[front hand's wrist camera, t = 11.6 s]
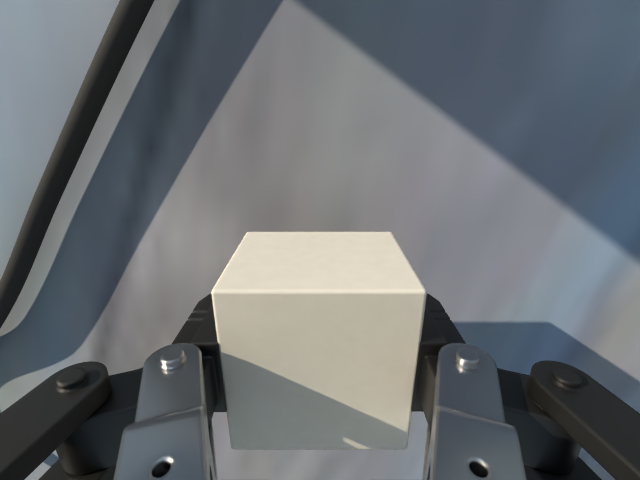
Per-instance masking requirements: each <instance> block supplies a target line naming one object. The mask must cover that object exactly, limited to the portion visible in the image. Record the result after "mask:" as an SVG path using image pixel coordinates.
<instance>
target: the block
mask: <svg viewBox="0 0 640 480" xmlns="http://www.w3.org/2000/svg"><path fill="white" fill-rule="evenodd" d="M211 294H212V302H213V309H214V317H215V325H216V333H217V340H218V346H219V354H220V362H221V369H222V377H223V385H224V393H225V400H226V408H227V418H228V425H229V433H230V441H231V448H232V449H406V448H407V445H408V437H409V429H410V421H411V413H412V411H411V407H412V400H413V392H414V384H415V376H416V368H417V360H418V352H419V344H420V342H421V335H422V327H423V319H424V312H425V304H426V296H427V291H426V289H425V287H424V286H423V284H422V282H421V281H420V279H419V277H418V276H417V274H416V272H415V271H414V269H413V267H412V266H411V264H410V262H409V261H408V259H407V257H406V256H405V254H404V252H403V251H402V249H401V247H400V245H399V244H398V242H397V240H396V239H395V237H394V235H393V234H392V233H391V232H247V233H246V235H245V236H244V238H243V240H242V241H241V243H240V245H239V246H238V248H237V250H236V251H235V253H234V255H233V256H232V258H231V260H230V261H229V263H228V265H227V266H226V268H225V270H224V271H223V273H222V275H221V276H220V278H219V279H218V281H217V283H216V284H215V286H214V288H213V289H212V292H211Z"/></svg>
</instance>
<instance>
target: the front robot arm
mask: <svg viewBox="0 0 640 480" xmlns="http://www.w3.org/2000/svg"><path fill="white" fill-rule="evenodd" d="M153 2H154V0H120V2H119V4H118V6H117V8H116V10H115V12H114V14H113V17H112V19H111V21H110V23H109V25H108V28H107V30H106V32H105V34H104V36H103V39H102V41H101V43H100V45H99V47H98V50H97V52H96V54H95V56H94V59H93V61H92V63H91V65H90V68H89V70H88V72H87V74H86V77H85V79H84V81H83V83H82V86H81V88H80V90H79V93H78V95H77V97H76V99H75V102H74V104H73V106H72V109H71V111H70V113H69V116H68V118H67V120H66V123H65V125H64V127H63V130H62V132H61V134H60V137H59V139H58V141H57V144H56V146H55V148H54V150H53V153H52V155H51V157H50V160H49V162H48V164H47V167H46V169H45V171H44V174H43V176H42V178H41V181H40V183H39V185H38V188H37V190H36V192H35V195H34V197H33V200H32V202H31V205H30V207H29V210H28V212H27V215H26V217H25V220H24V222H23V225H22V228H21V230H20V233H19V236H18V238H17V241H16V244H15V246H14V249H13V251H12V254H11V257H10V259H9V262H8V264H7V267H6V269H5V271H4V274H3V276H2V278H1V281H0V328H1V326H2V325H3V323H4V321H5V320H6V318H7V316H8V315H9V313H10V311H11V309H12V307H13V305H14V304H15V302H16V300H17V298H18V296H19V294H20V292H21V290H22V288H23V286H24V283H25V281H26V279H27V277H28V274H29V272H30V270H31V268H32V265H33V263H34V260H35V258H36V256H37V253H38V251H39V248H40V246H41V243H42V241H43V238H44V236H45V233H46V231H47V229H48V226H49V224H50V221H51V219H52V217H53V214H54V212H55V210H56V207H57V205H58V203H59V201H60V199H61V196H62V194H63V192H64V190H65V188H66V185H67V183H68V181H69V179H70V177H71V175H72V172H73V170H74V168H75V166H76V164H77V162H78V159H79V157H80V155H81V153H82V151H83V149H84V146H85V144H86V142H87V140H88V138H89V136H90V133H91V131H92V129H93V127H94V125H95V123H96V120H97V118H98V116H99V114H100V112H101V110H102V107H103V105H104V103H105V101H106V99H107V97H108V95H109V92H110V90H111V88H112V86H113V84H114V82H115V80H116V78H117V76H118V73H119V71H120V69H121V67H122V65H123V63H124V61H125V59H126V57H127V55H128V53H129V51H130V48H131V46H132V44H133V42H134V40H135V38H136V36H137V34H138V32H139V30H140V28H141V26H142V24H143V22H144V20H145V18H146V16H147V14H148V12H149V10H150V8H151V6H152V4H153ZM226 411H227V408H226V400H225V393H224V385H223V377H222V369H221V362H220V354H219V346H218V340H217V333H216V325H215V317H214V309H213V302H212V294H209V295H208V296H206V297H205V298H203V299H202V300H201V301H199V302H198V304H197V305H196V307H195V308H194V310H193V313H191V315H190V316H189V318H188V321H186V323H185V324H184V326H183V327H182V329H181V330H180V332H179V334H178V335H177V337H176V338H175V340H174V341H173V343H172V344H171V345H168V346H165V347H163V348H161V349H159V350H157V351H156V352H154V353H153V354H152V355H150V356H149V357H148V359H147V360H146V361H145V363H144V366H143V368H140V369H137V370H133V371H129V372H124V373H120V374H115V375H111V376H109V375H108V371H107V368H106V366H105V365H103V364H102V363H99V362H83V363H78V364H75V365H72V366H69V367H66V368H64V369H62V370H60V371H58V372H57V373H55V374H53V375H52V376H50V377H49V378H48V379H46V380H45V381H44V382H42V383H41V384H40V385H38V386H37V387H36V388H34V389H33V390H32V391H30V392H29V393H27V394H26V395H25V396H23V397H22V398H21V399H19V400H18V401H17V402H15V403H14V404H13V405H11V406H10V407H9V408H7V409H6V410H5V411H3V412H2V413H1V414H0V480H24V479H25V478H26V477H27V476H28V475H30V474H31V473H32V472H33V471H34V470H35V469H36V468H37V467H38V466H39V465H40V464H41V463H42V462H43V461H44V460H45V459H46V458H47V457H48V456H49V455H50V454H51V453H52V452H53V451H54V450H55V449H56V452H57V454H58V457H59V460H58V461H57V462H56V463H55V464H54V465H53V466H52V467H51V468H50V469H49V470H48V471H47V472H46V473H45V474H44V475H43V476H42V477H41V478H40V479H39V480H217V468H216V457H215V446H214V435H213V427H212V420H211V419H212V416H213V413H214V412H226ZM411 411H424V414H425V417H426V420H427V422H428V427H427V435H426V446H425V457H424V468H423V479H422V480H601V479H600V478H599V477H598V476H597V475H596V474H595V473H594V472H593V471H592V470H591V469H590V468H589V467H588V466H587V465H586V464H585V463H584V462H583V461H582V460H581V459H580V458H579V457H578V455H579V452H580V449H581V447H582V448H584V449H585V450H586V451H587V452H588V453H589V454H590V455H591V456H592V457H593V458H594V459H595V460H596V461H597V462H598V463H599V464H600V465H601V466H602V467H603V468H604V469H605V470H606V471H607V472H608V473H609V474H610V475H611V476H613V477H614V478H615V479H616V480H640V414H639V413H638V412H637V411H635V410H634V409H633V408H631V407H630V406H629V405H627V404H626V403H625V402H623V401H622V400H621V399H619V398H618V397H617V396H615V395H614V394H613V393H611V392H610V391H608V390H607V389H606V388H604V387H603V386H602V385H600V384H599V383H598V382H596V381H595V380H594V379H592V378H591V377H590V376H588V375H587V374H585V373H584V372H582V371H580V370H579V369H577V368H574V367H572V366H570V365H567V364H564V363H560V362H556V361H540V362H537V363H535V364H534V365H533V367H532V369H531V373H530V375H525V374H520V373H516V372H511V371H507V370H503V369H499V368H497V366H496V363H495V361H494V360H493V359H492V357H491V356H490V355H488V354H487V353H486V352H484V351H483V350H481V349H479V348H477V347H475V346H472V345H468V344H466V343H465V342H464V340H463V338H462V337H461V335H460V334H459V332H458V330H457V329H456V327H455V326H454V324H453V323H452V321H451V320H450V318H449V316H448V315H447V313H445V310H444V308H443V307H442V305H441V303H440V302H439V301H438V300H436V299H435V298H434V297H432V296H431V295H429V294H427V296H426V304H425V312H424V319H423V327H422V335H421V342H420V344H419V352H418V360H417V368H416V376H415V384H414V392H413V400H412V407H411Z"/></svg>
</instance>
